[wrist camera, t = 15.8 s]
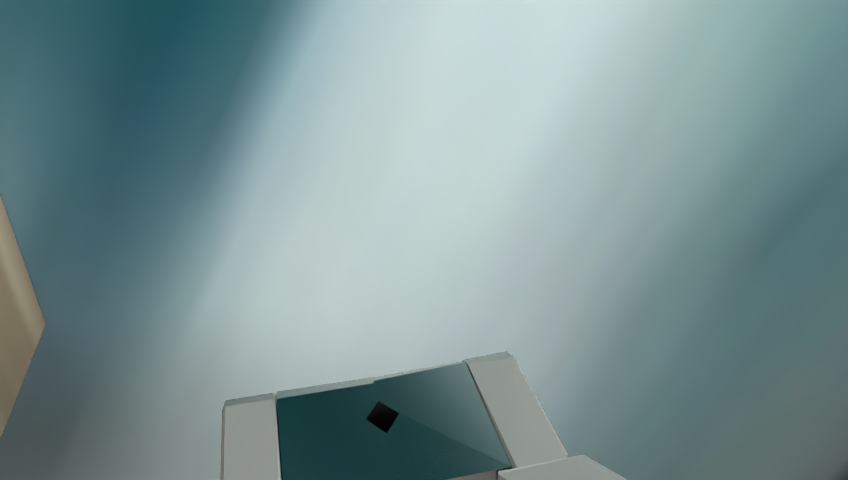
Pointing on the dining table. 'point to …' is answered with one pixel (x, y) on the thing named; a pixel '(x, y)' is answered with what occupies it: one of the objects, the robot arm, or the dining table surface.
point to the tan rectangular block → (15, 319)
